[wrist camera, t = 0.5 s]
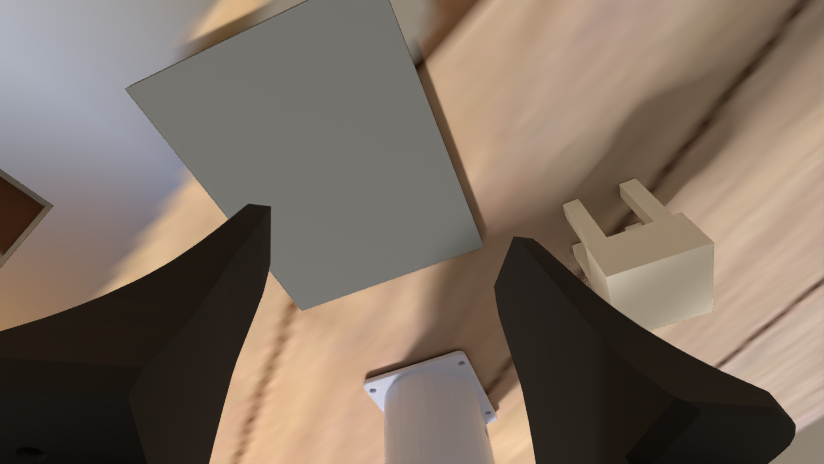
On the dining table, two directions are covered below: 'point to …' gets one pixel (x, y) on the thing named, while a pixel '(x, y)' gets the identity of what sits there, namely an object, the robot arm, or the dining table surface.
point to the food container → (17, 214)
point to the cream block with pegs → (646, 261)
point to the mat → (319, 145)
